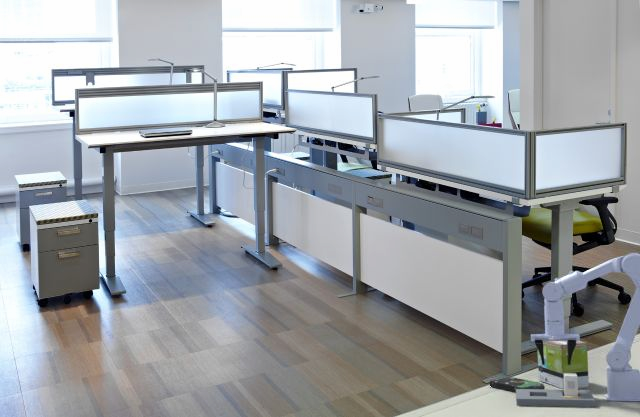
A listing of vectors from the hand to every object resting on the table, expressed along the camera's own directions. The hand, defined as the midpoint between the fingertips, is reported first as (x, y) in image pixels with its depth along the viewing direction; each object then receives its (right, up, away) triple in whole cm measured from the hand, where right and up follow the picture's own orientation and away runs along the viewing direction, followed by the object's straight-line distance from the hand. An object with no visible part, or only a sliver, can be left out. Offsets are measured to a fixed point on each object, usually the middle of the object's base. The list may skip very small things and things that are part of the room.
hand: (556, 364), depth 240 cm
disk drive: (-10, -11, +10) cm, 18 cm away
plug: (+2, -9, -10) cm, 13 cm away
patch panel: (-3, -9, -9) cm, 13 cm away
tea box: (+7, -10, +16) cm, 20 cm away
